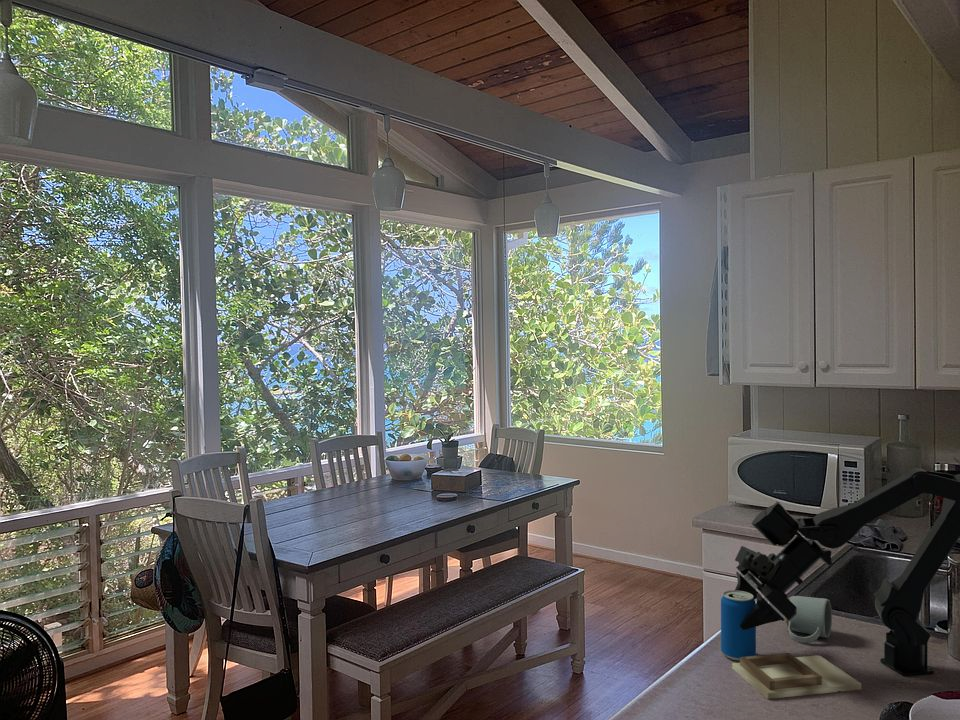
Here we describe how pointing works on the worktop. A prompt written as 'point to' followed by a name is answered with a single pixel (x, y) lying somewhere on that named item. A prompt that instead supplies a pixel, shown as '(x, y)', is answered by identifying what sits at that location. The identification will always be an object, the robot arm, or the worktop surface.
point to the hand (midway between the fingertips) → (734, 618)
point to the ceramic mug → (810, 618)
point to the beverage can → (737, 625)
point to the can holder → (793, 675)
